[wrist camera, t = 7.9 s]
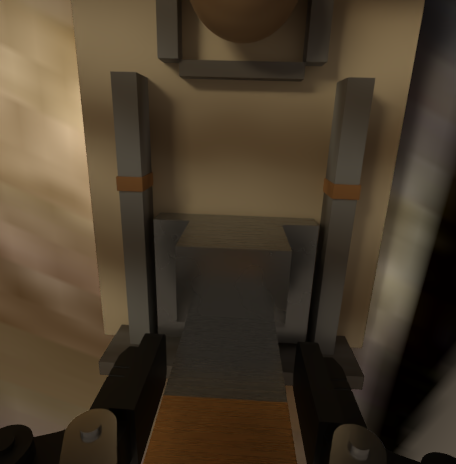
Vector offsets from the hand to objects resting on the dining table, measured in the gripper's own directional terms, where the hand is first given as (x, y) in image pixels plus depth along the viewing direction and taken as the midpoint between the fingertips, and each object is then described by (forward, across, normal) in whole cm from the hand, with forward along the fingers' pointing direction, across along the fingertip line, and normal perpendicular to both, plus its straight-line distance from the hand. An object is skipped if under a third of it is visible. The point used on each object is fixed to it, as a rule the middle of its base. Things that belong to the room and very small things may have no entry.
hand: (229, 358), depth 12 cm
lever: (+5, 0, -1) cm, 5 cm away
